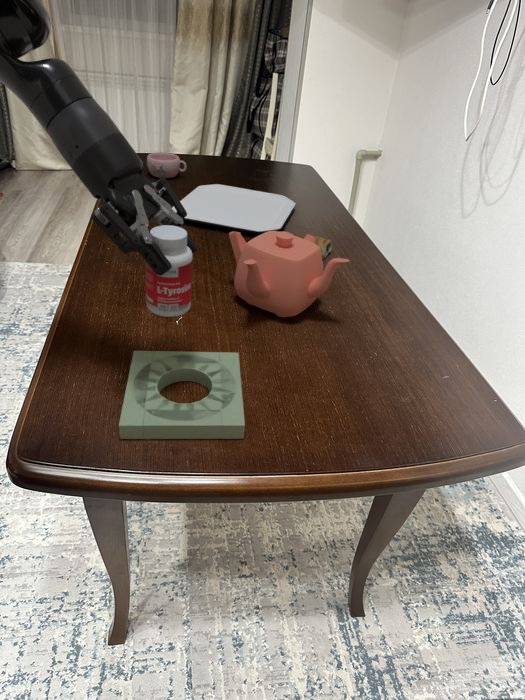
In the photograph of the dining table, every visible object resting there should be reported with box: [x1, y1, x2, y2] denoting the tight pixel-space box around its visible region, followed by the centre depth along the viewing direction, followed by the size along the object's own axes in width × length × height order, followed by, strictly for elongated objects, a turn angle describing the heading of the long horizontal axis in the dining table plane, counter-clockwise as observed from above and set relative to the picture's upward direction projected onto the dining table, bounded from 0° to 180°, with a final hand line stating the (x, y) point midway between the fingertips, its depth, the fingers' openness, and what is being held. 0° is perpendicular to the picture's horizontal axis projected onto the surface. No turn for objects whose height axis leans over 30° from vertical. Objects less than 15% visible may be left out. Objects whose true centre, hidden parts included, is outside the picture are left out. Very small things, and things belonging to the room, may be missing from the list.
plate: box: [171, 183, 296, 234], centre depth 131 cm, size 29×29×2 cm
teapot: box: [228, 230, 351, 318], centre depth 91 cm, size 18×18×14 cm
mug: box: [146, 151, 187, 179], centre depth 150 cm, size 12×10×6 cm
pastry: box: [299, 235, 333, 260], centre depth 115 cm, size 9×7×4 cm
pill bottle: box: [144, 225, 194, 318], centre depth 65 cm, size 6×6×11 cm
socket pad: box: [118, 350, 246, 440], centre depth 70 cm, size 16×16×2 cm
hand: (179, 261), depth 64 cm, fingers closed on pill bottle, 6 cm apart
